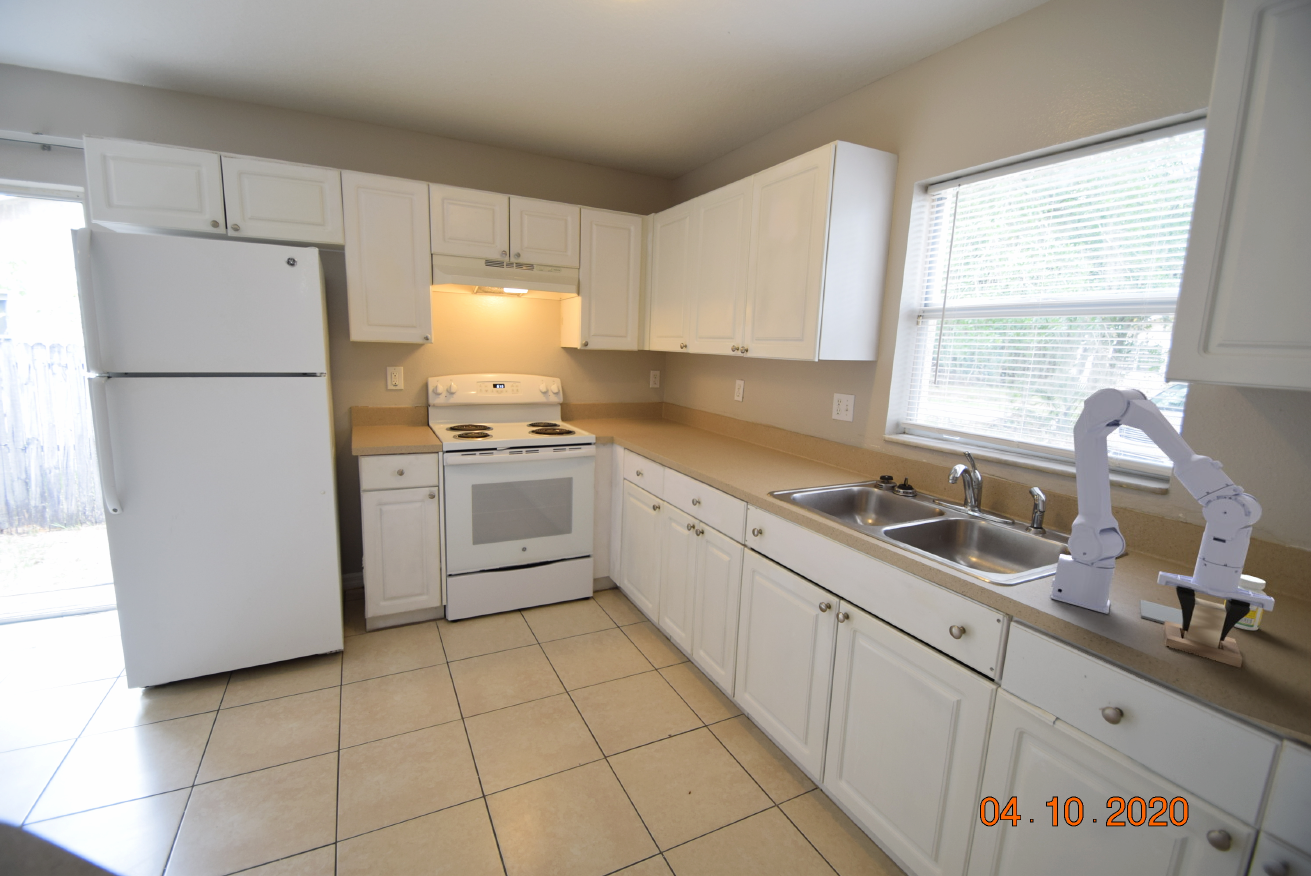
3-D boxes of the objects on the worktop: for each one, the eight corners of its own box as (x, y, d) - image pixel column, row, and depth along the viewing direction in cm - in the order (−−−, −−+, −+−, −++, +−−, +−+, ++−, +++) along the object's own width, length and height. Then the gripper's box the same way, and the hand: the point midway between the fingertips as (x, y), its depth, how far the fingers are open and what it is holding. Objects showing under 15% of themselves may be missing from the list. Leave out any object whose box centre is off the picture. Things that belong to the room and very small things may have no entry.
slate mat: (1140, 617, 112) (1141, 615, 112) (1140, 601, 120) (1140, 599, 120) (1210, 636, 106) (1211, 633, 106) (1205, 618, 114) (1205, 616, 114)
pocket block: (1165, 645, 101) (1167, 638, 101) (1163, 627, 109) (1164, 620, 108) (1240, 667, 96) (1242, 659, 95) (1232, 646, 103) (1234, 638, 102)
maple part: (1184, 646, 102) (1195, 604, 100) (1183, 638, 105) (1193, 597, 103) (1215, 655, 99) (1226, 612, 98) (1213, 646, 102) (1223, 604, 101)
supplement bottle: (1241, 631, 109) (1254, 583, 108) (1212, 617, 115) (1223, 572, 113) (1266, 631, 110) (1279, 584, 108) (1236, 617, 115) (1247, 572, 114)
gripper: (1165, 555, 101) (1149, 626, 103) (1285, 581, 92) (1264, 658, 94) (1164, 545, 106) (1148, 613, 109) (1276, 569, 97) (1257, 642, 99)
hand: (1202, 633), depth 102 cm, fingers closed on maple part, 4 cm apart
